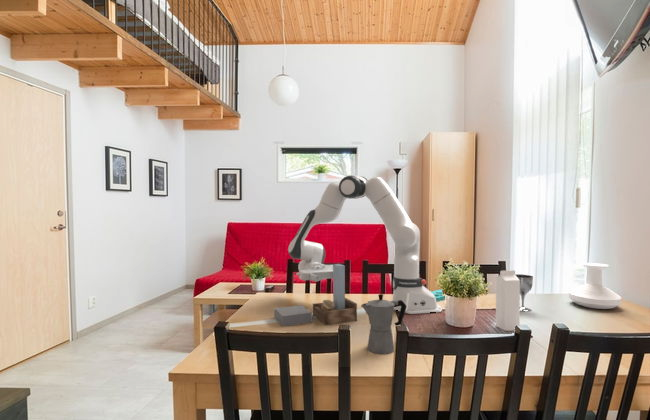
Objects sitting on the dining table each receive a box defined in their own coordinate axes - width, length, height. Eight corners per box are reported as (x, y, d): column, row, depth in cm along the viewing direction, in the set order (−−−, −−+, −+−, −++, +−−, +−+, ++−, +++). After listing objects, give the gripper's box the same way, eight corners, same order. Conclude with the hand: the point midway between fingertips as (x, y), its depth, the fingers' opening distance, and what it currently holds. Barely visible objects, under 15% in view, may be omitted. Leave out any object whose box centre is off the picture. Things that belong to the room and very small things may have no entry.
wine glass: (509, 308, 171) (509, 275, 171) (520, 305, 175) (520, 273, 174) (525, 312, 164) (525, 278, 164) (536, 310, 167) (537, 276, 167)
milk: (519, 330, 141) (520, 271, 140) (504, 331, 140) (505, 272, 140) (509, 325, 147) (510, 269, 146) (495, 325, 146) (496, 269, 146)
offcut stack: (327, 315, 160) (327, 298, 160) (335, 321, 152) (335, 303, 152) (321, 316, 159) (320, 299, 158) (328, 322, 151) (328, 303, 151)
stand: (301, 314, 162) (301, 305, 162) (311, 322, 151) (311, 312, 151) (274, 317, 157) (274, 308, 157) (282, 326, 146) (282, 316, 146)
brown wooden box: (341, 311, 166) (341, 295, 166) (356, 320, 153) (356, 303, 153) (312, 315, 160) (312, 299, 160) (325, 325, 147) (325, 307, 147)
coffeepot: (365, 356, 117) (365, 298, 117) (357, 345, 126) (357, 291, 126) (412, 352, 120) (412, 296, 120) (400, 341, 129) (400, 289, 129)
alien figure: (474, 304, 180) (463, 294, 200) (474, 299, 180) (463, 290, 199) (431, 303, 182) (424, 293, 201) (431, 298, 182) (424, 289, 201)
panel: (339, 315, 160) (339, 263, 160) (344, 318, 156) (344, 265, 155) (333, 316, 159) (333, 264, 159) (338, 319, 155) (338, 266, 154)
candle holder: (612, 314, 161) (613, 269, 160) (561, 304, 177) (561, 263, 176) (628, 307, 172) (628, 265, 172) (578, 298, 189) (579, 260, 188)
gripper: (295, 266, 177) (305, 271, 164) (334, 264, 185) (347, 268, 172) (294, 279, 177) (304, 286, 164) (334, 277, 185) (346, 282, 172)
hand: (326, 277), depth 168 cm, fingers open, 8 cm apart
